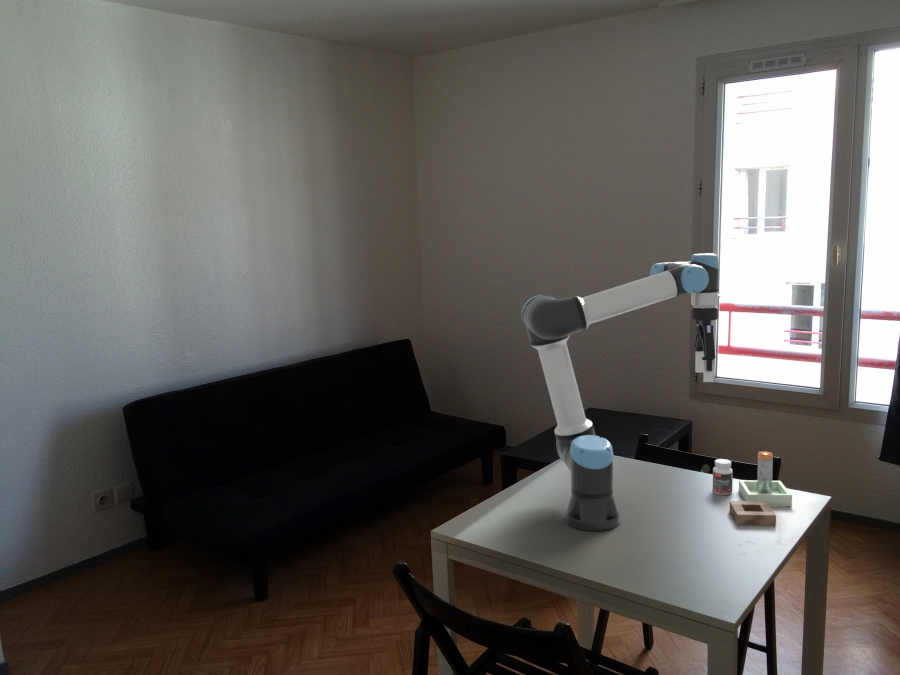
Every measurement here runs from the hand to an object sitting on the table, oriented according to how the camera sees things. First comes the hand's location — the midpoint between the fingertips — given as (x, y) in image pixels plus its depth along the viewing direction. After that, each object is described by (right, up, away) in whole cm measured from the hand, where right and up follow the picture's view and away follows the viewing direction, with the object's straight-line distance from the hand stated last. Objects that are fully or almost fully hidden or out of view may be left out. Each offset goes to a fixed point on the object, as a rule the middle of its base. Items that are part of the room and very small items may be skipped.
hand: (704, 377), depth 218 cm
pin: (+18, -35, 0) cm, 40 cm away
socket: (+9, -39, -14) cm, 42 cm away
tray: (+18, -36, 0) cm, 41 cm away
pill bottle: (+8, -36, +7) cm, 37 cm away
